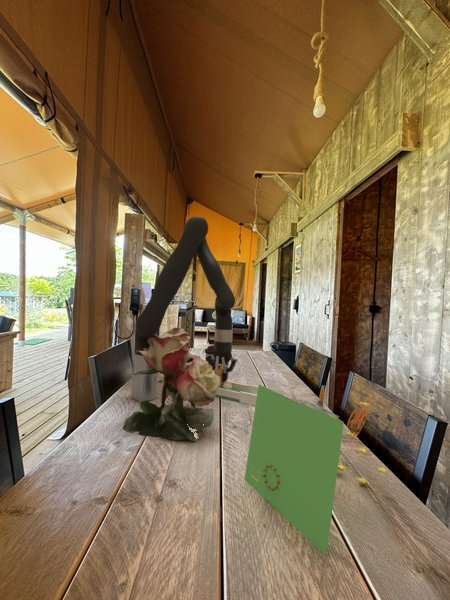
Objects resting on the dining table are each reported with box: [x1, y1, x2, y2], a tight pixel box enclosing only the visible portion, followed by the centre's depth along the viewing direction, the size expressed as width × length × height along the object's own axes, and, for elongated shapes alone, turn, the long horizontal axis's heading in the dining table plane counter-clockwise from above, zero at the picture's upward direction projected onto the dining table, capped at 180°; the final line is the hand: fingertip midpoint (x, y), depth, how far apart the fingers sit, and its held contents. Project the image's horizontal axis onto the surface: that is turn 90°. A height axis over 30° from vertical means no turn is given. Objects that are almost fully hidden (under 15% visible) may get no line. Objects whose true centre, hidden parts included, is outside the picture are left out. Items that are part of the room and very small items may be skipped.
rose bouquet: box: [122, 327, 221, 442], centre depth 92 cm, size 26×29×30 cm
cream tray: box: [214, 380, 270, 407], centre depth 116 cm, size 11×24×4 cm, turn 63°
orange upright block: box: [216, 366, 228, 389], centre depth 119 cm, size 6×2×9 cm, turn 153°
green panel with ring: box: [244, 384, 389, 556], centre depth 62 cm, size 22×25×24 cm
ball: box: [223, 381, 232, 390], centre depth 118 cm, size 4×4×4 cm
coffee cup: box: [204, 344, 223, 371], centre depth 143 cm, size 10×10×15 cm
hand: (221, 380), depth 119 cm, fingers closed on orange upright block, 2 cm apart
